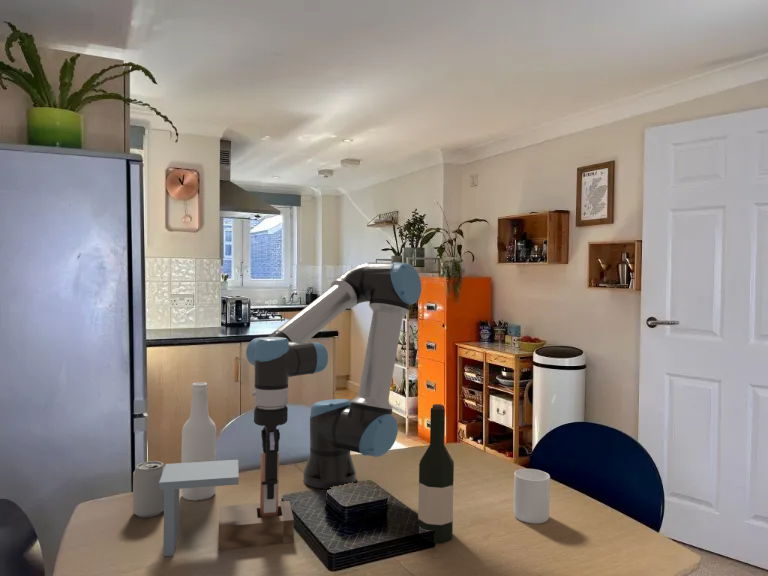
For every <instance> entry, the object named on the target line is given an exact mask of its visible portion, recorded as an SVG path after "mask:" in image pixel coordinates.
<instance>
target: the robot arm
mask: <svg viewBox="0 0 768 576" xmlns="http://www.w3.org/2000/svg"><path fill="white" fill-rule="evenodd" d="M329 287H330V288H329V289H327V290H326V291H325V292H324V293H322V294H321V295H320V296H318V297H317V298H316V299H314V300H313V301H312V302H310V303H309V304H308V305H307V306H305V307H304V308H303V309H302V310H300V311H299V312H298V313H296V314H295V315H294V316H293V317H291V318H290V319H288V320H287V321H286V322H284V323H283V324H282V325H281V326H280V327H279V328H277V329H276V330H274V331H273V332H272V333H270V334H269V335H267V336H266V337H256V338H253V339H252V340H251V341H249V342H248V345H246V346H247V347H246V351H245V354H246V355H245V356H246V358H247V359H246V360H247V361H248V362H249V364H250V365H252V366H253V367H254V391H252V392H251V396H252V397H254V405H255V407H254V408H253V423H254V424H255V425H257V426H260V427H263V428H262V429H261V430H260V431H261V435H260V436H261V446H262V453H265V481H264V482H262V485H264V513H270V512H276V488H277V482H278V480H277V459H278V453H279V451H280V446H279V445H280V443H279V442H280V439H281V434H280V433H281V432H280V428H277V427H278V426H283V425H284V424H287V422H288V418H289V417H288V416H289V415H288V413H289V412H288V409H289V408H288V406H287V405H288V404H289V378H291V377H292V378H293V377H298V376H304V375H314V374H317V373H320V372H322V371H324V370H325V369H326V367H327V366H328V363H329V353H328V350H327V348H326V347H325V345H323V343H321V342H318V341H316V342H315V341H314V342H313V341H312V342H311V341H309V340H311V339H312V338H313V337H314V336H315V335H316V334H318V333H319V332H321V330H323V329H324V328H325V327H326V326H327V325H329V324H330V323H331V322H332V321H333V320H335V319H336V318H337V317H338V316H339V315H340V314H342V313H343V312H345V310H347V309H353V308H354V307H355V306H357V305H359V304H362V303H365V302H367V303H368V302H369V304H368V306H369V308H370V309H371V310H372V317H371V323H370V327H369V332H368V338H367V344H366V350H365V355H364V360H363V366H362V372H361V376H360V377H361V378H360V383H359V388H358V394H357V395H356V397H355V398H353V399H352V400H350V399H348V398H335V399H333V398H332V399H325V400H319V401H317V402H314V403H313V404H312V405H311V406H310V407H311V408H310V416H309V455H308V459H307V461H306V464H305V467H304V469H303V470H304V471H303V478H302V479H303V483H304V484H305V485H307V486H309V487H311V488H315V489H321V488H323V489H321V490H328V489H327V488H330V487H333V486H339V485H344V484H348V483H352V482H354V483H355V482H356V480H357V479H356V478H357V473H356V472H357V471H356V468H355V465H354V461H353V459H352V455H351V452H354V453H357V454H361V455H362V456H367V457H374V458H379V457H382V456H385V454H387V453H388V452H389V451H390V450H391V449H392V447H393V446H394V444H395V442H396V440H397V436H398V432H399V431H398V430H399V426H398V423H397V419H396V418H395V416H393V406H392V405H391V403H390V401H389V400H390V399H389V398H390V393H391V387H392V382H393V375H394V369H395V363H396V359H397V352H398V347H399V346H398V345H399V341H400V335H401V329H402V324H403V318H404V317H405V316H406V315H407V314H409V313H410V308H411V305H414V304H416V303H417V302H418V301H419V299H420V298H421V295H422V279H421V278H420V275H419V272H418V270H417V269H416V267H414V266H413V265H412V264H410V263H407V262H399V261H395V262H366V263H362V264H360V265H357V266H355V267H352V268H351V269H349V270H348V271H346V272H345V273H343V274H341V275H340V276H338V277H337V278H336V279H335V280H333V281H332V282H331V284H330V286H329ZM308 341H309V342H308Z"/></svg>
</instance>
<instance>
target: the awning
mask: <svg viewBox="0 0 768 576" xmlns="http://www.w3.org/2000/svg"><path fill="white" fill-rule="evenodd" d="M164 467H165V468H164V470H163V473H162V476H161V479H160V481H159V490H164V510H163V544H162V545H163V549H162V551H163V555H162V557H173V556H174V554H175V550H176V545H177V541H178V537H179V533H180V492H181V489H183V488H197V487H211V486H216V487H222V486H237V485H239V480H240V479H239V473H240V472H239V459H225V460H216V461H206V462H190V463H181V462H178V463H165V464H164Z"/></svg>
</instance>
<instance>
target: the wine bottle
mask: <svg viewBox="0 0 768 576" xmlns="http://www.w3.org/2000/svg"><path fill="white" fill-rule="evenodd" d="M445 409H446V408H444V405H443V404H441V403H440V404H438V403H436V404H432V407H430V423H429V424H430V425H429V426H430V428H429V429H430V430H429V431H430V433H429V446H428V447H427V448H426V450H425V452H424V454H423V456H422V457H421V459H420V461H419V464H418V510H417V511H418V513H417V517H418V518H417V527H418V526H420V527H421V528H423V529H426V530H433V531H435V533H434V543H433V544H444V543H447V542H450V541H452V540H453V529H454V528H453V527H454V525H453V519H454V518H453V517H454V480H455V479H454V470H455V461H454V460H453V458H452V456H451V455H450V453H449V451H448V449H447V447H446V445H445V421H446V417H445V416H446V415H445V414H446V413H445V412H446V410H445Z"/></svg>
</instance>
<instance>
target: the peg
mask: <svg viewBox="0 0 768 576" xmlns="http://www.w3.org/2000/svg"><path fill="white" fill-rule="evenodd" d="M279 469H280V453H279V452H278V459H277V480H278V482H277V488H276V512H270V513H264V485H262V482H264V481H265V453H263V452H262V453H261V454H260V495H259V496H260V497H259V498H260V502H259V503H260V518H263V517H274V516H278V502H279V476H280V475H279V473H280V471H279Z"/></svg>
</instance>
